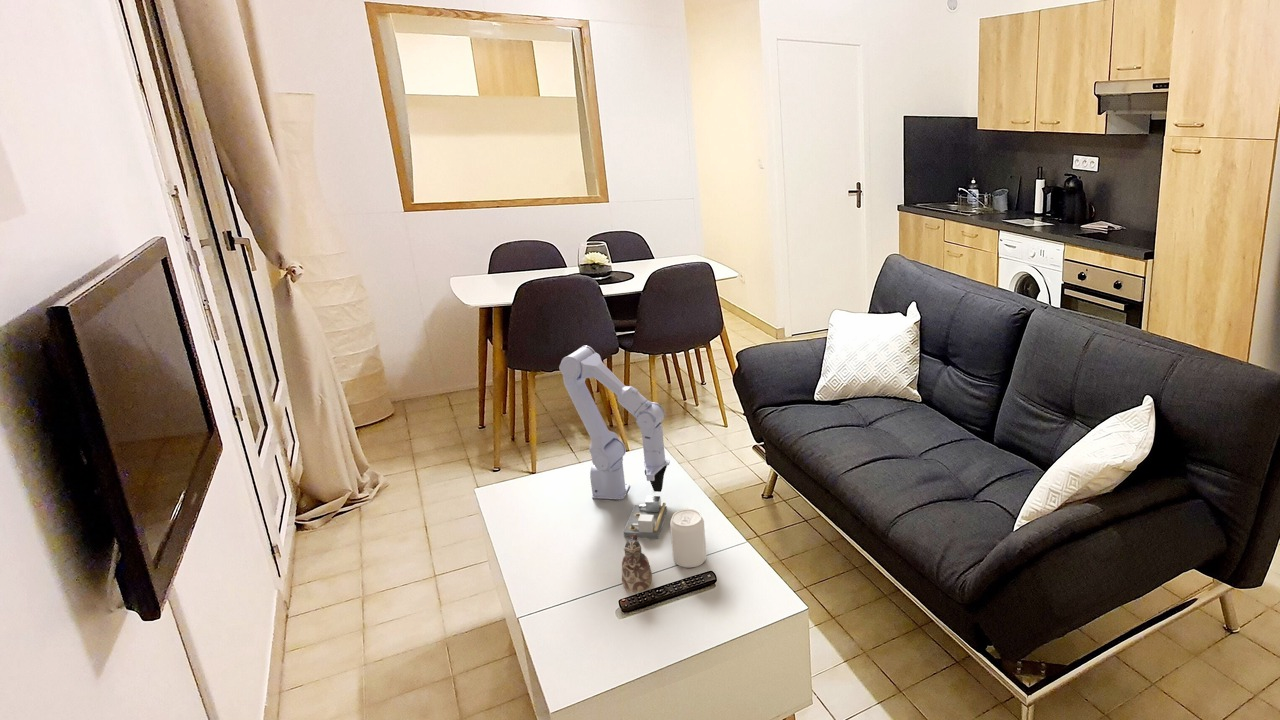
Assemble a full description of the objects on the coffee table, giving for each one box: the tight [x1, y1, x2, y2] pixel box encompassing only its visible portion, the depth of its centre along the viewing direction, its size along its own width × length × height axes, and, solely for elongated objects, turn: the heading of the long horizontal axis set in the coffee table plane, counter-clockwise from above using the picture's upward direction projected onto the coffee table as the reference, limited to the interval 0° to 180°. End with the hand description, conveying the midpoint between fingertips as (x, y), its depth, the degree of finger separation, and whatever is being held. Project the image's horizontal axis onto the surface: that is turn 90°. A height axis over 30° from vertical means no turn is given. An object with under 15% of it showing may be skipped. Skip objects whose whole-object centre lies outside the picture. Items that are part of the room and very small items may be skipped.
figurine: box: [621, 534, 653, 594], centre depth 162 cm, size 7×7×12 cm
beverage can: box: [669, 508, 707, 568], centre depth 168 cm, size 8×8×12 cm
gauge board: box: [623, 502, 668, 540], centre depth 185 cm, size 9×13×5 cm
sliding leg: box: [638, 495, 662, 512], centre depth 189 cm, size 6×3×3 cm, turn 77°
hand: (657, 490), depth 195 cm, fingers closed
